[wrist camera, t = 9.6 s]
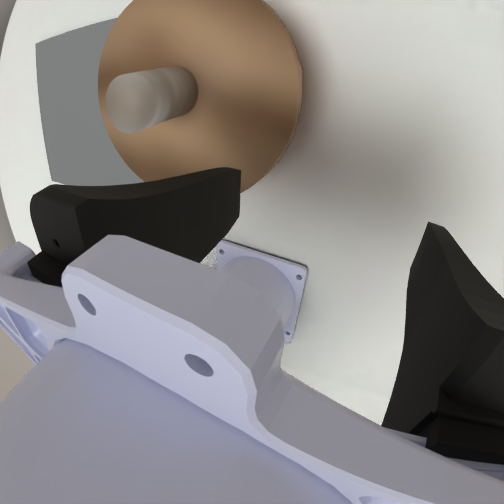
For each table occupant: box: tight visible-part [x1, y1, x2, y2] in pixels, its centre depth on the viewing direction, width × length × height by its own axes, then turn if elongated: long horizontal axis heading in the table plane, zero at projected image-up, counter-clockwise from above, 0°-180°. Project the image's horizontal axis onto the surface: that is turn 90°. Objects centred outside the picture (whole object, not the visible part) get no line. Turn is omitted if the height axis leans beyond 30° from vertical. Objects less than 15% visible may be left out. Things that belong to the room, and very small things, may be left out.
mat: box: [36, 18, 144, 186], centre depth 27 cm, size 18×18×1 cm
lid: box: [98, 0, 303, 193], centre depth 15 cm, size 14×14×5 cm
